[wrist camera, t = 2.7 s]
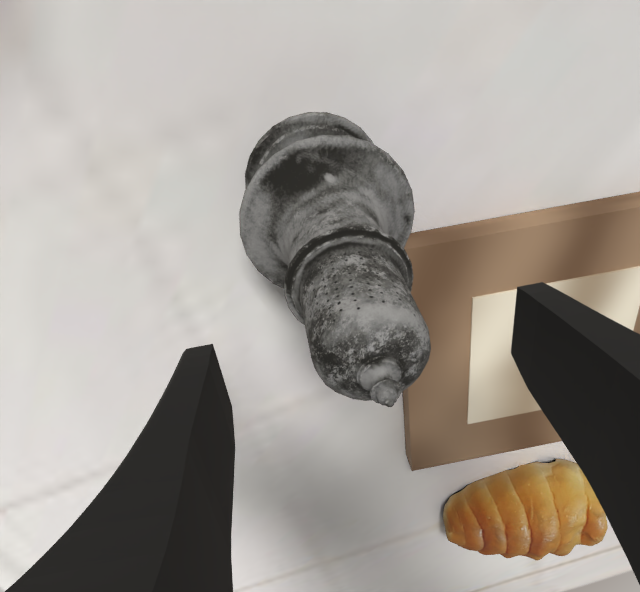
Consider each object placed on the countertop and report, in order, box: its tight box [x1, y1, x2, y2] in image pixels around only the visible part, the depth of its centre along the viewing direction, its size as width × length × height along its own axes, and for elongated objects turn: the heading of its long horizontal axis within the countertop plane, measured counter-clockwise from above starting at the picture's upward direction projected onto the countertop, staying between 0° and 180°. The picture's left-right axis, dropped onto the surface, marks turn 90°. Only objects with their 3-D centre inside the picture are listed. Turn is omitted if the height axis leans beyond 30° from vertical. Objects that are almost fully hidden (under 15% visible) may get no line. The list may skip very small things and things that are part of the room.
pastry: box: [443, 459, 607, 560], centre depth 34 cm, size 9×7×4 cm
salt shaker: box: [239, 112, 431, 407], centre depth 16 cm, size 6×6×12 cm
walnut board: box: [403, 192, 640, 471], centre depth 27 cm, size 14×14×1 cm
